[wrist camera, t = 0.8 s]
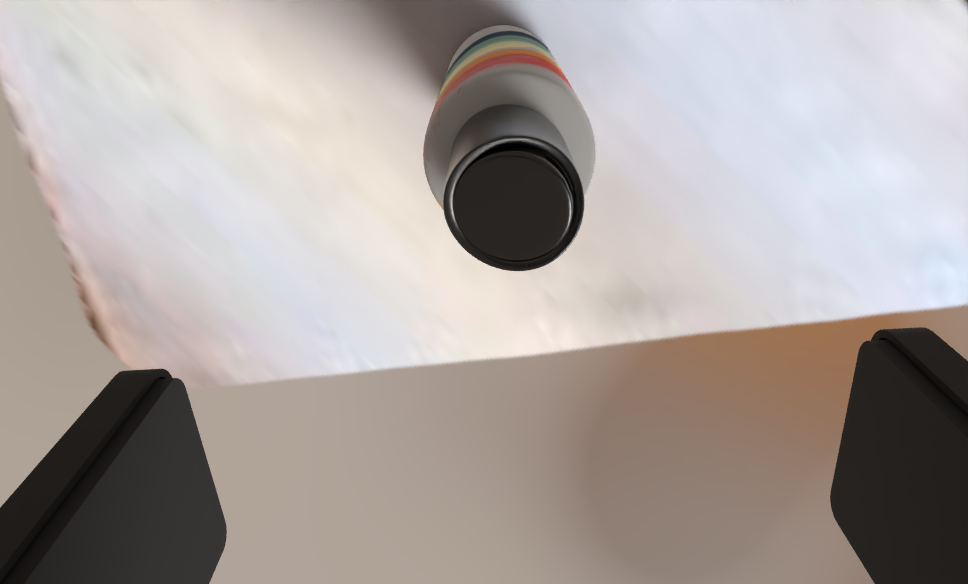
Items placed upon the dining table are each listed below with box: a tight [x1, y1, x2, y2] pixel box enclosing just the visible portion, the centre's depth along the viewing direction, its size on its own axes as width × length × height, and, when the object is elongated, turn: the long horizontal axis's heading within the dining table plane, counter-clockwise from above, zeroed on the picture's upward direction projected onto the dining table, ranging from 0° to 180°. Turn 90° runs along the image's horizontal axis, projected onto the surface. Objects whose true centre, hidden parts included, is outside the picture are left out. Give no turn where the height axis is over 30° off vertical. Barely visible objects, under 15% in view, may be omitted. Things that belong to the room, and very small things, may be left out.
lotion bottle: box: [423, 25, 596, 271], centre depth 27 cm, size 6×6×20 cm
